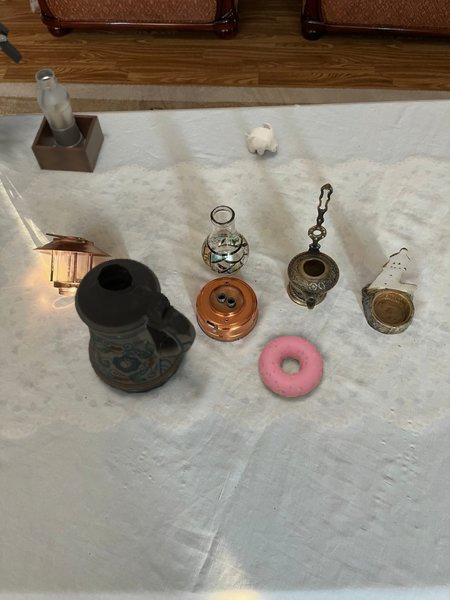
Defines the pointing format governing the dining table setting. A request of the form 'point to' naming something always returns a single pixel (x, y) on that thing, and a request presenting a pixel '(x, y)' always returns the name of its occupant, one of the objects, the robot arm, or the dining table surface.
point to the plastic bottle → (58, 110)
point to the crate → (69, 156)
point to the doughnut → (293, 382)
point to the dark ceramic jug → (131, 326)
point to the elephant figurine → (262, 139)
